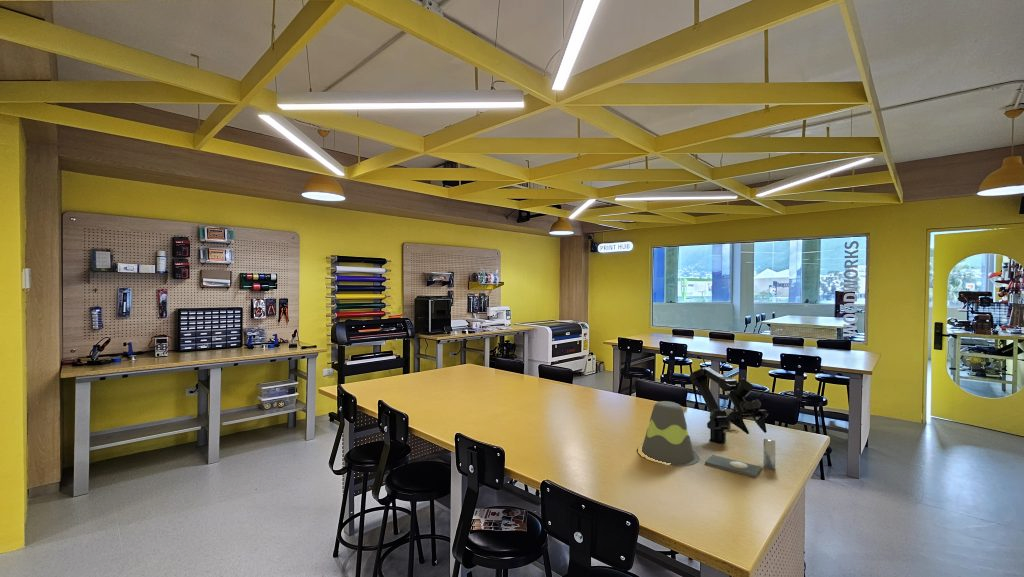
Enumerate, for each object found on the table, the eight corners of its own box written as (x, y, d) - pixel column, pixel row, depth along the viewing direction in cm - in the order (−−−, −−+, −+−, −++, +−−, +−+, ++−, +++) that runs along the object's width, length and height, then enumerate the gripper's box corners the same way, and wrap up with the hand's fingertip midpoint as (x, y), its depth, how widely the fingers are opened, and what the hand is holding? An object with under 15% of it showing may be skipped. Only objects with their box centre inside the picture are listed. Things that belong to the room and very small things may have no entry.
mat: (704, 464, 188) (704, 461, 188) (712, 457, 196) (712, 454, 196) (755, 477, 174) (755, 474, 175) (761, 469, 183) (761, 466, 183)
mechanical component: (739, 428, 237) (739, 410, 237) (720, 427, 239) (720, 409, 239) (738, 427, 240) (738, 409, 240) (718, 425, 242) (718, 408, 242)
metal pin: (762, 467, 184) (762, 440, 185) (764, 464, 188) (764, 437, 188) (774, 470, 182) (774, 442, 182) (776, 467, 185) (776, 440, 185)
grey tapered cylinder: (708, 453, 201) (708, 403, 201) (685, 472, 180) (686, 415, 180) (652, 439, 219) (652, 393, 220) (626, 454, 199) (626, 403, 199)
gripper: (730, 394, 195) (748, 425, 184) (765, 392, 199) (785, 423, 188) (719, 406, 203) (735, 437, 192) (752, 404, 206) (770, 435, 196)
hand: (757, 433), depth 192 cm, fingers open, 9 cm apart
